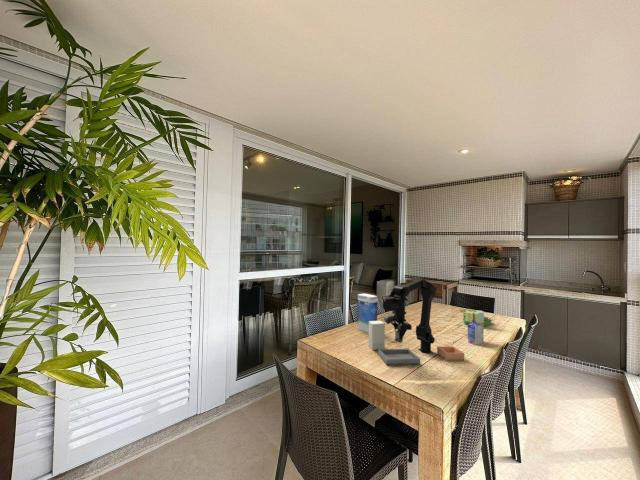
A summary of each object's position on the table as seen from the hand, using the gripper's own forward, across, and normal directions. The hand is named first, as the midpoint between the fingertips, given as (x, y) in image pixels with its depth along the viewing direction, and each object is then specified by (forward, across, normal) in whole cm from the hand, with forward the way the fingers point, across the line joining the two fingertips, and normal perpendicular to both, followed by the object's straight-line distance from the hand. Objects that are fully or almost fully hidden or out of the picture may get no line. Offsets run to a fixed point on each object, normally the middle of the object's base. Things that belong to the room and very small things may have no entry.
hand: (399, 338), depth 151 cm
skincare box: (+12, -17, -7) cm, 22 cm away
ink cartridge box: (+12, -23, +61) cm, 66 cm away
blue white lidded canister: (+12, -49, -4) cm, 51 cm away
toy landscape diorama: (+12, -64, +92) cm, 112 cm away
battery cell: (+2, 0, 0) cm, 2 cm away
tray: (+12, 0, 0) cm, 12 cm away
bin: (+11, -2, +31) cm, 33 cm away
